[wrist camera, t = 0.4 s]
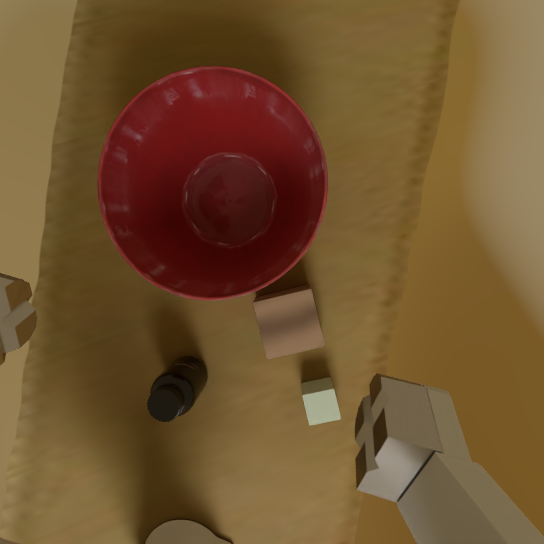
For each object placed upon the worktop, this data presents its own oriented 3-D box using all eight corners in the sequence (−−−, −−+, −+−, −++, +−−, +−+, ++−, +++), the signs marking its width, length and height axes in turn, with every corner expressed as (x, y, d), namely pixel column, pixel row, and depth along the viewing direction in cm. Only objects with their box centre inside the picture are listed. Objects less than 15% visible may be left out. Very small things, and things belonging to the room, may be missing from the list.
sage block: (336, 404, 62) (340, 419, 57) (307, 410, 62) (309, 425, 57) (330, 376, 61) (334, 388, 56) (301, 382, 61) (302, 395, 56)
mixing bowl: (122, 141, 60) (65, 105, 44) (290, 87, 58) (291, 30, 42) (173, 305, 61) (135, 326, 46) (338, 258, 59) (355, 263, 44)
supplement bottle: (197, 348, 62) (176, 374, 50) (214, 384, 62) (197, 418, 50) (161, 364, 62) (131, 393, 50) (178, 400, 63) (153, 437, 51)
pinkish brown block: (321, 336, 61) (325, 346, 55) (269, 348, 61) (267, 359, 55) (308, 284, 60) (311, 288, 54) (256, 296, 61) (252, 302, 55)
